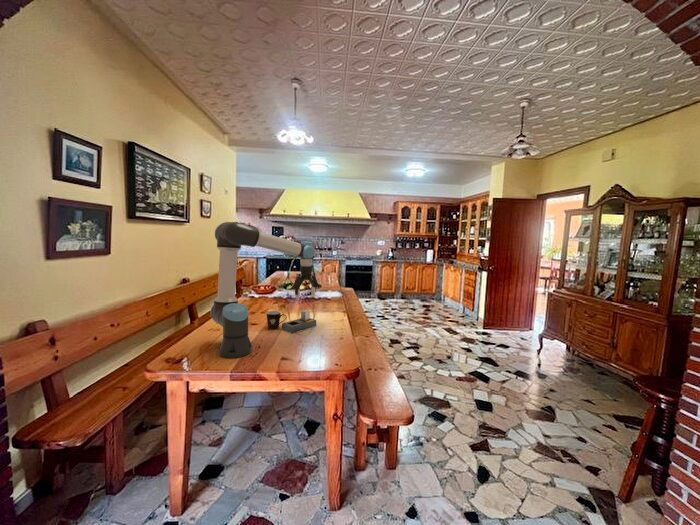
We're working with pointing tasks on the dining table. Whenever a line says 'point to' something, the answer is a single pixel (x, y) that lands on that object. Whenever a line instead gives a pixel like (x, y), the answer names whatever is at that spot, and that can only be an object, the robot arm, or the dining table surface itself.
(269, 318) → the coffee mug
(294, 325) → the grey cinder block
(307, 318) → the aluminium peg
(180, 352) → the dining table surface
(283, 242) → the robot arm
